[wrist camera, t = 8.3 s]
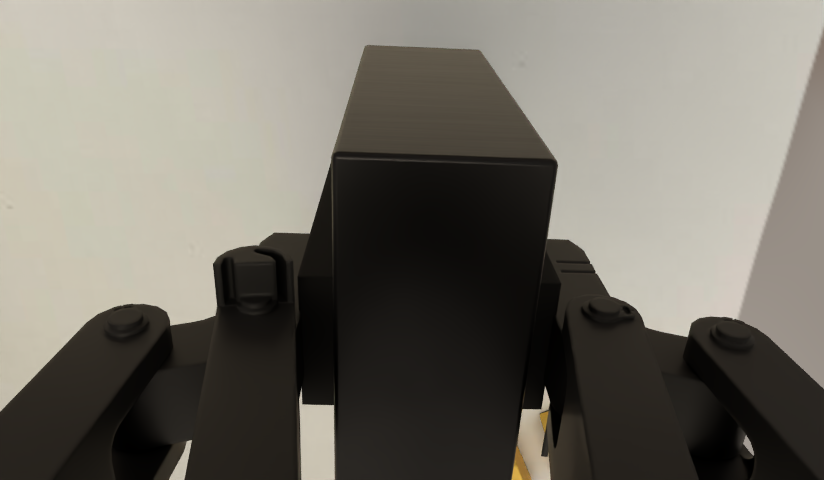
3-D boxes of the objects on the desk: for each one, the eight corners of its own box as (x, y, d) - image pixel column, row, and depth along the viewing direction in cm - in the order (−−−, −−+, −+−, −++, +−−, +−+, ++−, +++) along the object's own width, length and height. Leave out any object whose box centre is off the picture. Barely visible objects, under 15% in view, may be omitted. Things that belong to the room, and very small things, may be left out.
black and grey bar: (364, 44, 16) (330, 152, 8) (481, 49, 17) (560, 161, 8) (358, 549, 24) (338, 857, 16) (438, 551, 24) (457, 857, 16)
